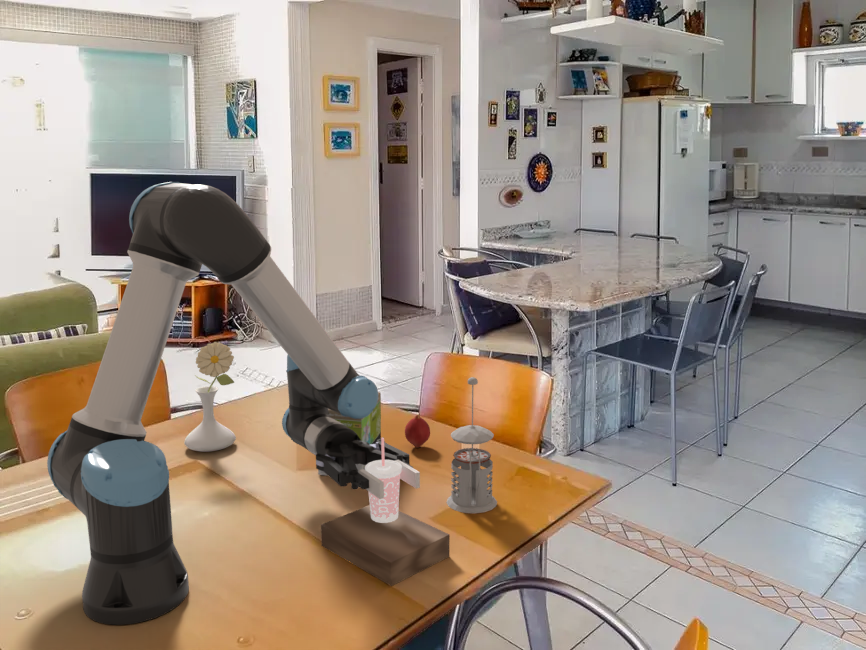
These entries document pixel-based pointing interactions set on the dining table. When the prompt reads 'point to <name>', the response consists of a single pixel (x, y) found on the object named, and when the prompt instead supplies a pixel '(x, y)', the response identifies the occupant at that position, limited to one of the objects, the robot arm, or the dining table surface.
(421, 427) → the onion
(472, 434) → the french press
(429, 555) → the walnut pedestal
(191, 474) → the dining table surface
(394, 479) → the beverage cup
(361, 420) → the tea box
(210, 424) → the flower in vase
